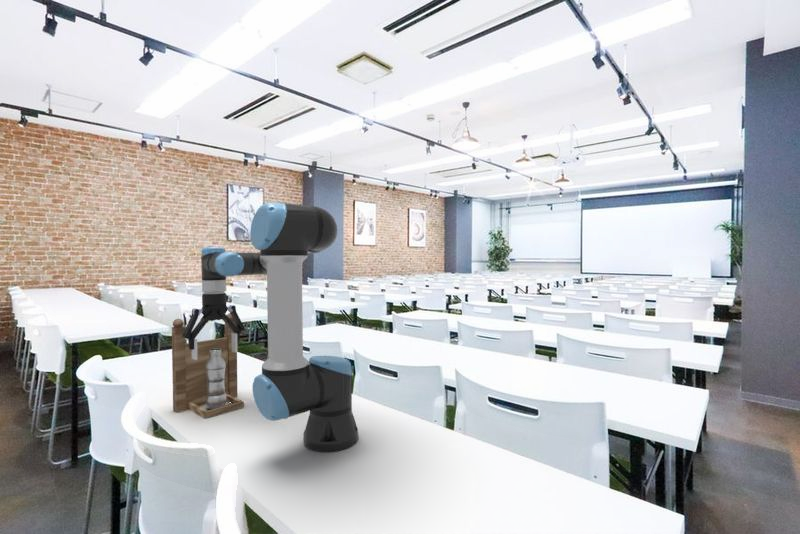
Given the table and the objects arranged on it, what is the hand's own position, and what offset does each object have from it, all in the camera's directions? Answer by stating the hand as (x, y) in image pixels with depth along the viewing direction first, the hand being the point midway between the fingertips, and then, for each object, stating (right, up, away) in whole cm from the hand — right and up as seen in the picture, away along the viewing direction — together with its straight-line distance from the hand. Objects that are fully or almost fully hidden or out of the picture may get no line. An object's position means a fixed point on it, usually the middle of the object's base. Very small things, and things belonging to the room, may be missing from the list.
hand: (215, 355), depth 140 cm
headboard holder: (0, -18, +1) cm, 18 cm away
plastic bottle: (0, -18, +1) cm, 18 cm away
